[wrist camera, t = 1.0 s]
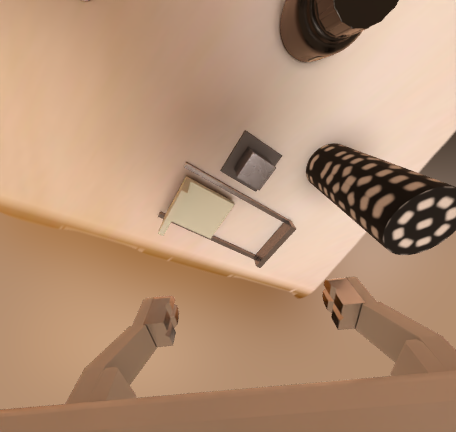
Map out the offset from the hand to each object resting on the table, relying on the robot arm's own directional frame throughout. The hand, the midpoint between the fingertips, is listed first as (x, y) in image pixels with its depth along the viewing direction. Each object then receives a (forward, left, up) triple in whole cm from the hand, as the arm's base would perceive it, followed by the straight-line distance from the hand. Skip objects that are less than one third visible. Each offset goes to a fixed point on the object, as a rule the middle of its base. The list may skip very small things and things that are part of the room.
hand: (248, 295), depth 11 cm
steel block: (+5, +2, -28) cm, 29 cm away
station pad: (+5, +2, -29) cm, 29 cm away
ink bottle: (+1, +22, -29) cm, 36 cm away
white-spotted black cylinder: (+18, +9, -29) cm, 35 cm away
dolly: (+1, -10, -29) cm, 31 cm away
